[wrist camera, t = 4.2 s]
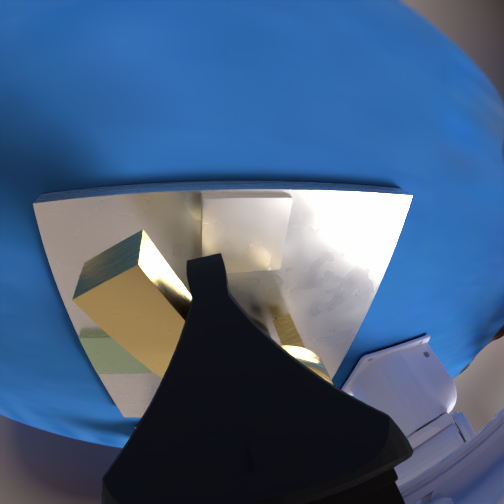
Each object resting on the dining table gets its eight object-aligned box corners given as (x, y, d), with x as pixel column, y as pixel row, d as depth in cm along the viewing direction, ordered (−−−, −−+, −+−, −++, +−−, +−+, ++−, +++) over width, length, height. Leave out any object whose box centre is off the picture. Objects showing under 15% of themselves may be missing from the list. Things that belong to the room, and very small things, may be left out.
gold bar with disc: (316, 353, 19) (342, 409, 15) (206, 397, 19) (218, 454, 15) (228, 149, 10) (264, 202, 6) (49, 251, 10) (13, 334, 6)
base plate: (401, 188, 14) (452, 226, 11) (321, 382, 25) (338, 418, 22) (41, 193, 10) (-1, 246, 7) (124, 407, 20) (125, 450, 17)
